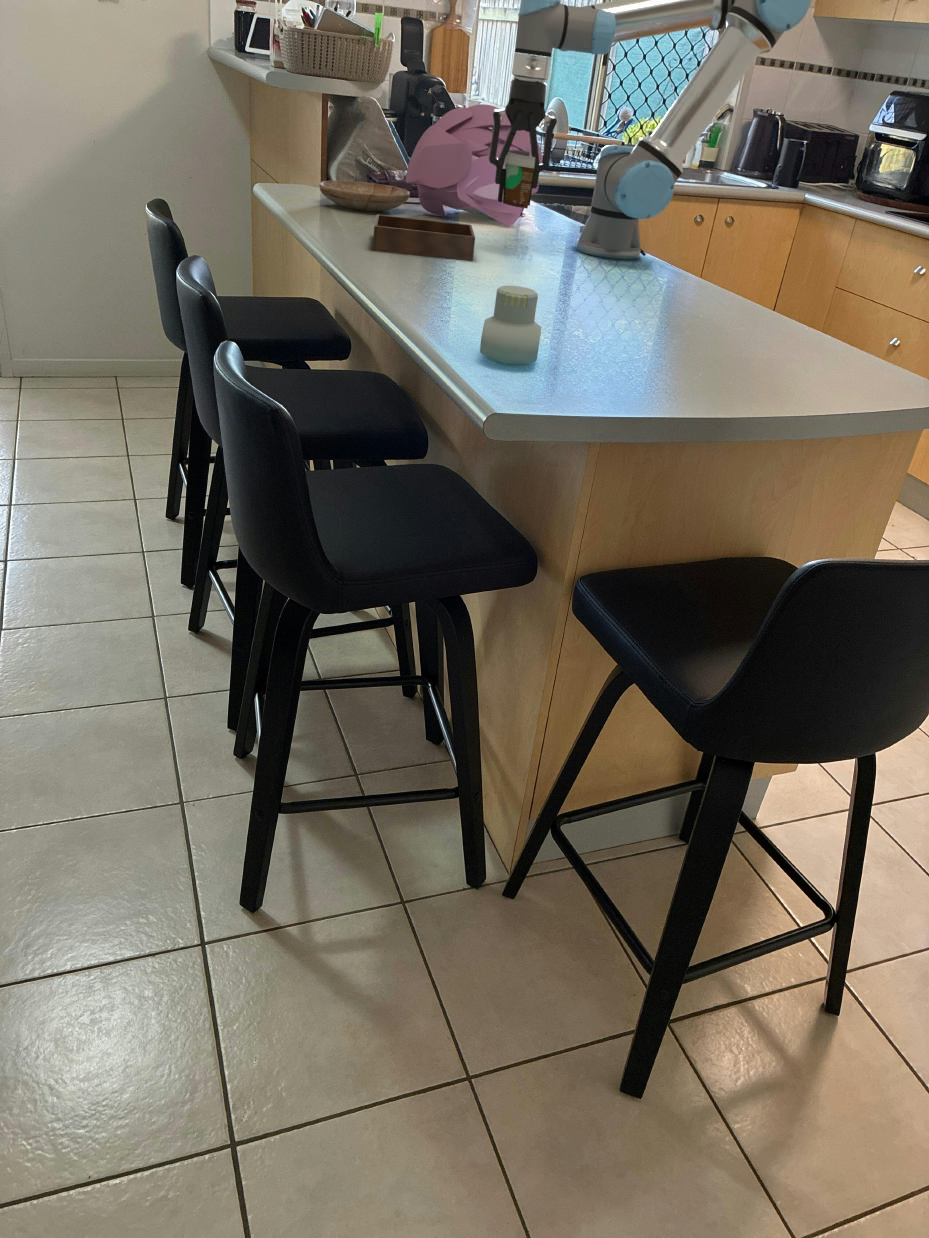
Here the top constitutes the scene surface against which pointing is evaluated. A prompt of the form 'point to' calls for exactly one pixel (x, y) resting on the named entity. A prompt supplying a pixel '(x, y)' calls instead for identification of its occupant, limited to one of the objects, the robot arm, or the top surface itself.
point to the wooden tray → (423, 237)
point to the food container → (518, 178)
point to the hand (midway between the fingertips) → (513, 202)
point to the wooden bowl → (364, 195)
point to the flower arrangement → (464, 164)
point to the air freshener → (512, 327)
